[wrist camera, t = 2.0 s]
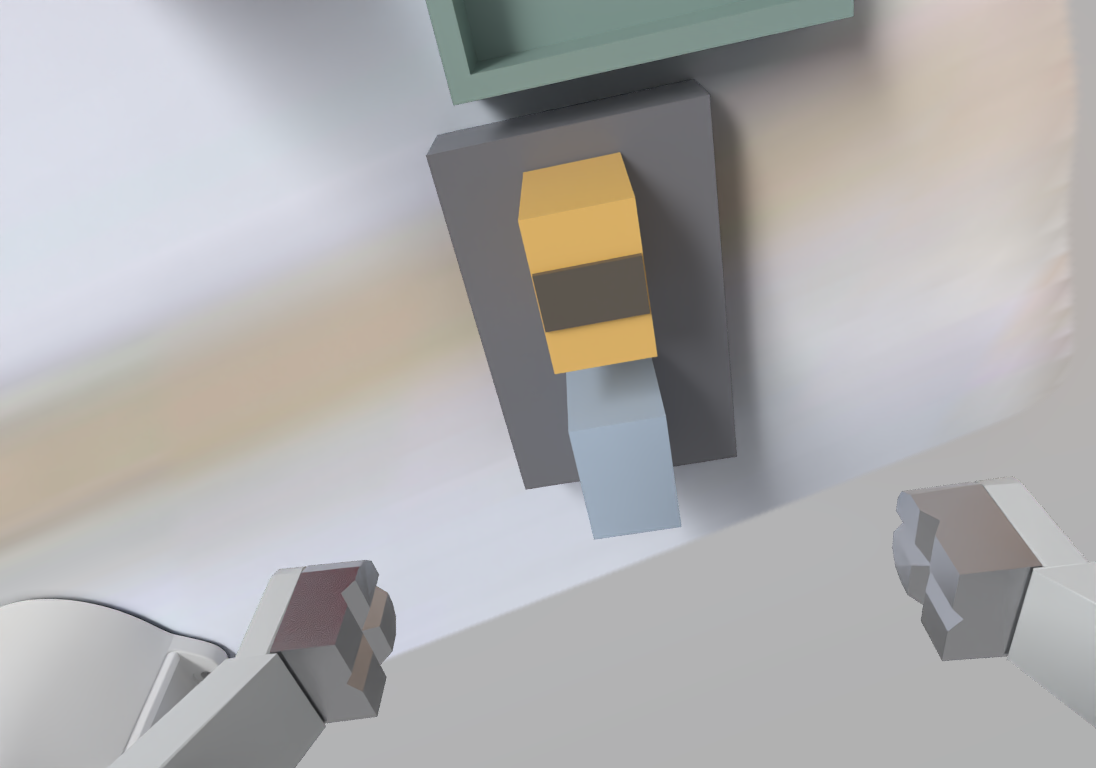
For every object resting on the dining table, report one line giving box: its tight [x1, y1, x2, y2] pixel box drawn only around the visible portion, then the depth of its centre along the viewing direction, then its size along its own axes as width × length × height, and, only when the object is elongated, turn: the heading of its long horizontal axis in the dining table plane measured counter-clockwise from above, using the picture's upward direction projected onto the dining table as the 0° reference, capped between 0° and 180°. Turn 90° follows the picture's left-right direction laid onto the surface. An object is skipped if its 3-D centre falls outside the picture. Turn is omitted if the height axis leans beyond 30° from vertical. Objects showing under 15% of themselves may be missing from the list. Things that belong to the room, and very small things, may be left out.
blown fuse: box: [518, 152, 657, 374], centre depth 25 cm, size 6×4×8 cm, turn 12°
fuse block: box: [426, 79, 737, 489], centre depth 29 cm, size 16×10×3 cm, turn 12°
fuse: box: [566, 357, 681, 540], centre depth 29 cm, size 6×4×8 cm, turn 12°
